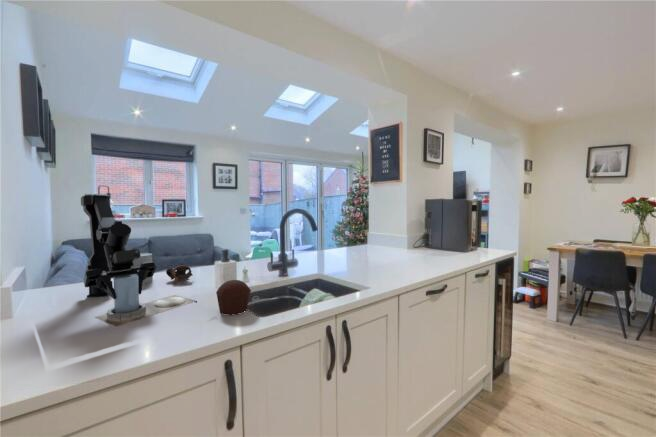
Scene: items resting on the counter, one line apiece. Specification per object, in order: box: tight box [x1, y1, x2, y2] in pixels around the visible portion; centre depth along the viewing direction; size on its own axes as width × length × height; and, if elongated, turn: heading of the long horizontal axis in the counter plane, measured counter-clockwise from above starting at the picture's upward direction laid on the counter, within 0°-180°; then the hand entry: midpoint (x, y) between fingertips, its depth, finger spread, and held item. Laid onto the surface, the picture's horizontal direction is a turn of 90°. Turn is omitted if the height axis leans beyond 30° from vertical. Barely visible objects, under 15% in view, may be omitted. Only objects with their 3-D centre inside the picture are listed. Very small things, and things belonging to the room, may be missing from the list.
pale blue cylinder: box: [113, 275, 140, 314], centre depth 93 cm, size 9×6×12 cm
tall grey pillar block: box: [131, 252, 154, 285], centre depth 137 cm, size 10×10×12 cm
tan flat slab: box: [94, 294, 198, 327], centre depth 100 cm, size 26×13×3 cm, turn 150°
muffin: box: [215, 279, 252, 316], centre depth 102 cm, size 12×11×10 cm
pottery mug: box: [165, 264, 194, 285], centre depth 138 cm, size 12×10×8 cm
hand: (128, 296), depth 93 cm, fingers closed on pale blue cylinder, 6 cm apart
